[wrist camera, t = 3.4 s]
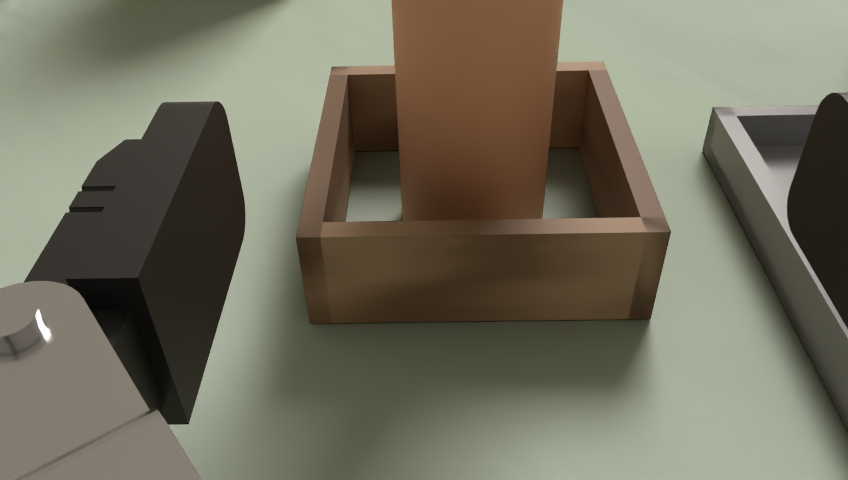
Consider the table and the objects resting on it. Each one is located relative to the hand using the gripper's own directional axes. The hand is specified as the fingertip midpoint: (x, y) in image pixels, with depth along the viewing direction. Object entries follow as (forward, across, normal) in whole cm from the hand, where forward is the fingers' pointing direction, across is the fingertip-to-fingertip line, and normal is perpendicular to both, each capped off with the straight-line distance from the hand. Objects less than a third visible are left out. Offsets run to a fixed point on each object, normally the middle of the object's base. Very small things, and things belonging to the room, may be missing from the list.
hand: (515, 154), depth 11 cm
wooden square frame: (+10, 0, +9) cm, 14 cm away
